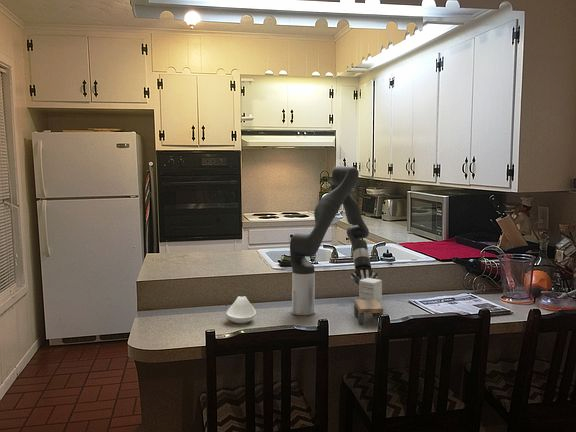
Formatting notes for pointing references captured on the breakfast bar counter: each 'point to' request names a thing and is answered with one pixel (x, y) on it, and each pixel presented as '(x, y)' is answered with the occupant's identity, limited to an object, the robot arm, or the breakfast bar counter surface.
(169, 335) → the breakfast bar counter surface
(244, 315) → the white conical piece
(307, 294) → the robot arm
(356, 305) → the brown block with legs
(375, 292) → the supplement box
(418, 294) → the breakfast bar counter surface
